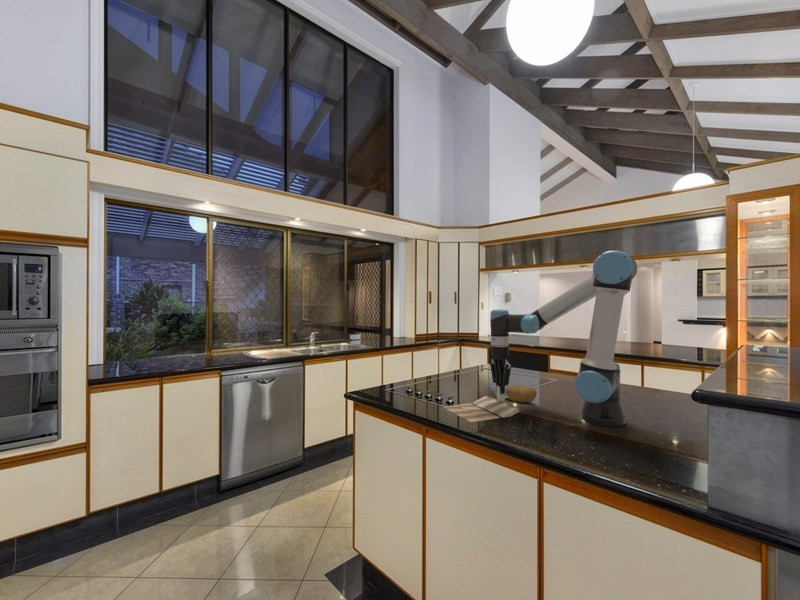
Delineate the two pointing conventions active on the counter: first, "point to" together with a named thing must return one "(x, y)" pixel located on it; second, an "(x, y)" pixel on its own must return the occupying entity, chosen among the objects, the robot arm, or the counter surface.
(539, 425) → the counter surface
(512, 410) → the board
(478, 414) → the laid boards
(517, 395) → the potato
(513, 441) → the counter surface
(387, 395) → the counter surface
